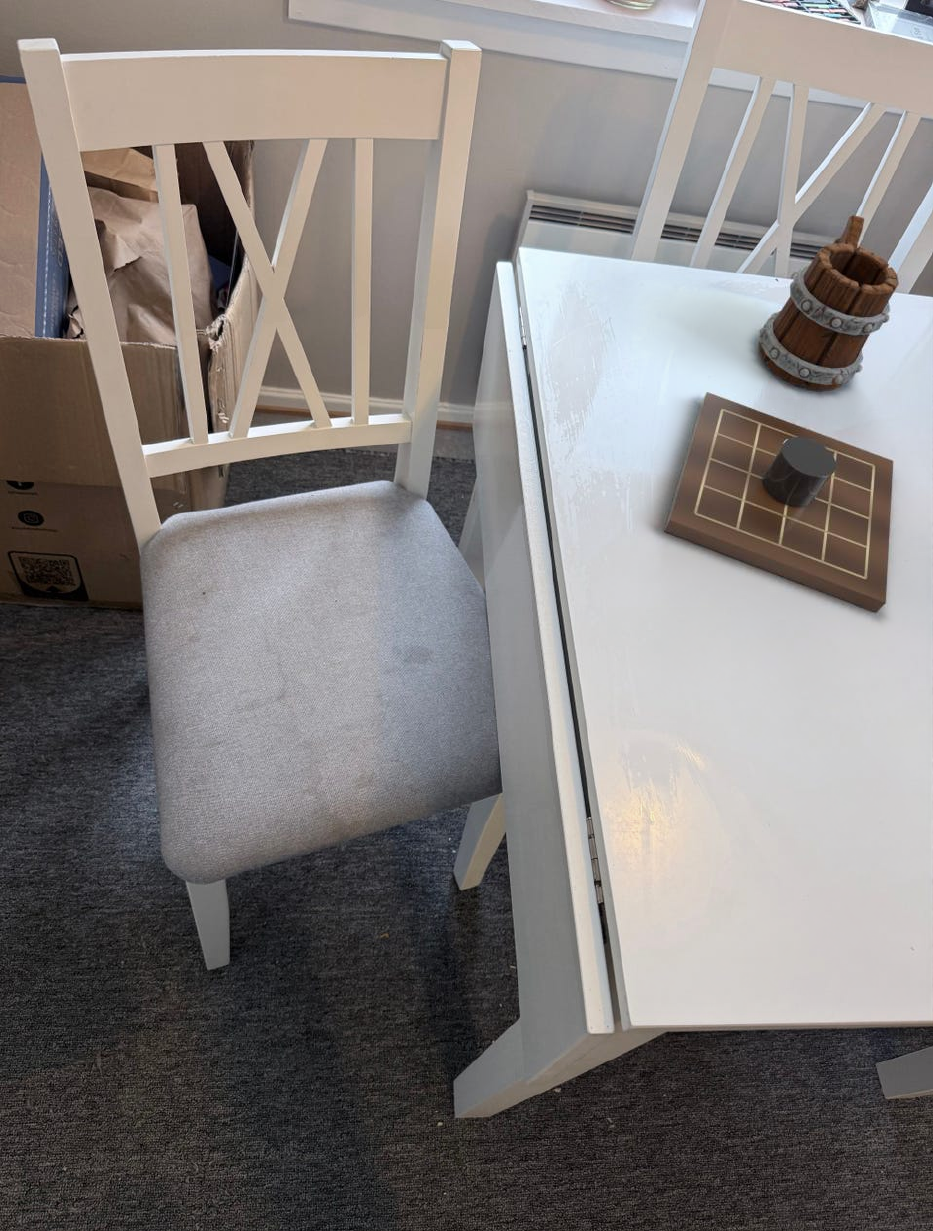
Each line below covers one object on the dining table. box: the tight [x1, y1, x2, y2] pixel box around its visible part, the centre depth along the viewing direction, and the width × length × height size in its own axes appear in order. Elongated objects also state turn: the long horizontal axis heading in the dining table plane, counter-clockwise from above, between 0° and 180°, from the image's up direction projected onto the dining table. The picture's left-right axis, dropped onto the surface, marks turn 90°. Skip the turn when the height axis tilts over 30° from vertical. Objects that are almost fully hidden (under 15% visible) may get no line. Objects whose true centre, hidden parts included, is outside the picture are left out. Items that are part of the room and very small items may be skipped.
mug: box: [758, 214, 900, 392], centre depth 91 cm, size 12×14×15 cm
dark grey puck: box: [762, 437, 836, 507], centre depth 78 cm, size 5×5×4 cm
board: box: [664, 391, 894, 613], centre depth 80 cm, size 20×20×2 cm
